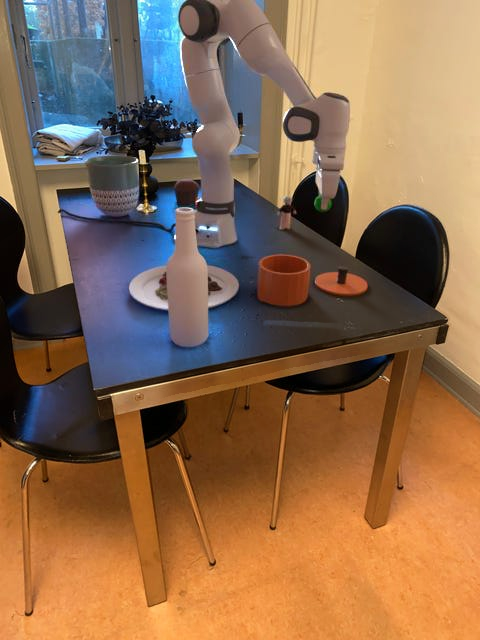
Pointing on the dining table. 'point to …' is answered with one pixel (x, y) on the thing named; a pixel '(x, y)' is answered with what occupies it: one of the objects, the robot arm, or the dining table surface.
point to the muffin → (186, 192)
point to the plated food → (154, 287)
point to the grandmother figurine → (286, 213)
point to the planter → (113, 183)
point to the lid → (341, 283)
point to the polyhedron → (318, 204)
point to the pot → (283, 280)
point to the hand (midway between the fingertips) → (322, 205)
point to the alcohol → (187, 285)
